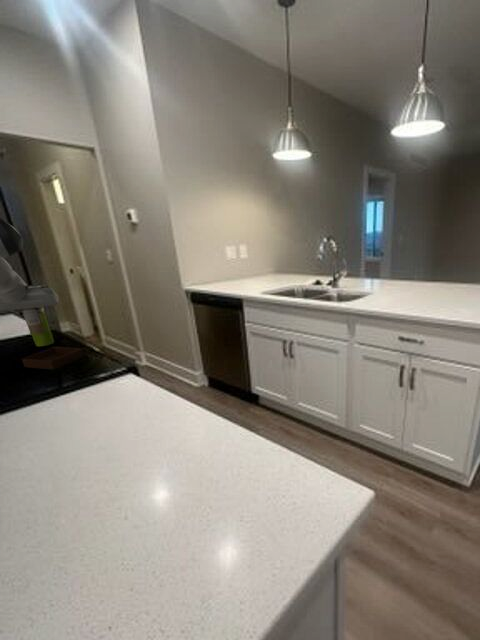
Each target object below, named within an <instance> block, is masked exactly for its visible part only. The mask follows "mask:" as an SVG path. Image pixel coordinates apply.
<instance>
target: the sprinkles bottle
mask: <svg viewBox="0 0 480 640" xmlns="http://www.w3.org/2000/svg"><path fill="white" fill-rule="evenodd" d="M36 309H37V308H26V309H22V312H23V315H22V316H23V318H24V320H25V323H26V326H27V328H28V331H29V334H30V335H31V336H32V335H36V334H41V333H44V332H45V331H46V330H45V328H44V325H43V322H42V319H41V316H40V314H39V313H38V312H37V311H36Z"/></svg>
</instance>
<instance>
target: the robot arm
mask: <svg viewBox="0 0 480 640" xmlns="http://www.w3.org/2000/svg"><path fill="white" fill-rule="evenodd" d="M23 246H24V237H22V234H21V233H20V232H19V231H18V230H17V229H16V228H15V227H14V226H13V225H11V224H10V223H8V222H7V221H5V220H4V219H2V218H1V217H0V312H5V311H7V312H8V311H9V312H11V313H15V314H17V315H18V316H24V315H23V312H22V309H26V308H37V309H36V311H37V312H38V313H45V309H44V308H45V307H54V306H55V307H56V306H57V305H58V304H59V295H58V294H57V292H55V291H54V290H53V288H52V287H51V286H49V285H46V284H31V285H29V284H28V285H27V283H26V282H25V280H23V278H22V277H21V276H20V275H19V274H18V273H17V272H16V271H15V270H13V268H12V266H11V264H10V263H9V262H8V261H7V260H6V258H8V257H11V256H13V255H15V254H17V253H20V252H21V251H22V249H23Z"/></svg>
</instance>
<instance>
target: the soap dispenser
mask: <svg viewBox="0 0 480 640" xmlns="http://www.w3.org/2000/svg"><path fill="white" fill-rule="evenodd" d="M39 314H40V316H41V319H42V322H43V325H44V328H45V330H46V331H45V332H44V333H41V334H36V335H32V334H31V336H32V340H33V342H34V345H35V347H46V346H50V345H53V344H54V343H55V340H54V337H53V336H54V335H53V333H52V330H51V328H50V325H49V322H48V319H47V316H46V313H45V312H44V313H39Z"/></svg>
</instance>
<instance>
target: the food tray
mask: <svg viewBox="0 0 480 640" xmlns="http://www.w3.org/2000/svg"><path fill="white" fill-rule="evenodd" d="M83 356H84V357H85V353H84V350H83V348H80V347H79V348H78V347H67V346H66V347H65V346H52V347H50V348H47V349H45V350H41V351H39V352H37V353H34V354H31V355H29V356H26V357H23V358H21V362H22V365H23V367H24V368H29V369H41V370H51V371H55V370H57V369H59V368H62V367H64V366H67V365H68V364H70V363H73V362H75V361H78V360H80V359H81V358H84V357H83Z"/></svg>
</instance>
